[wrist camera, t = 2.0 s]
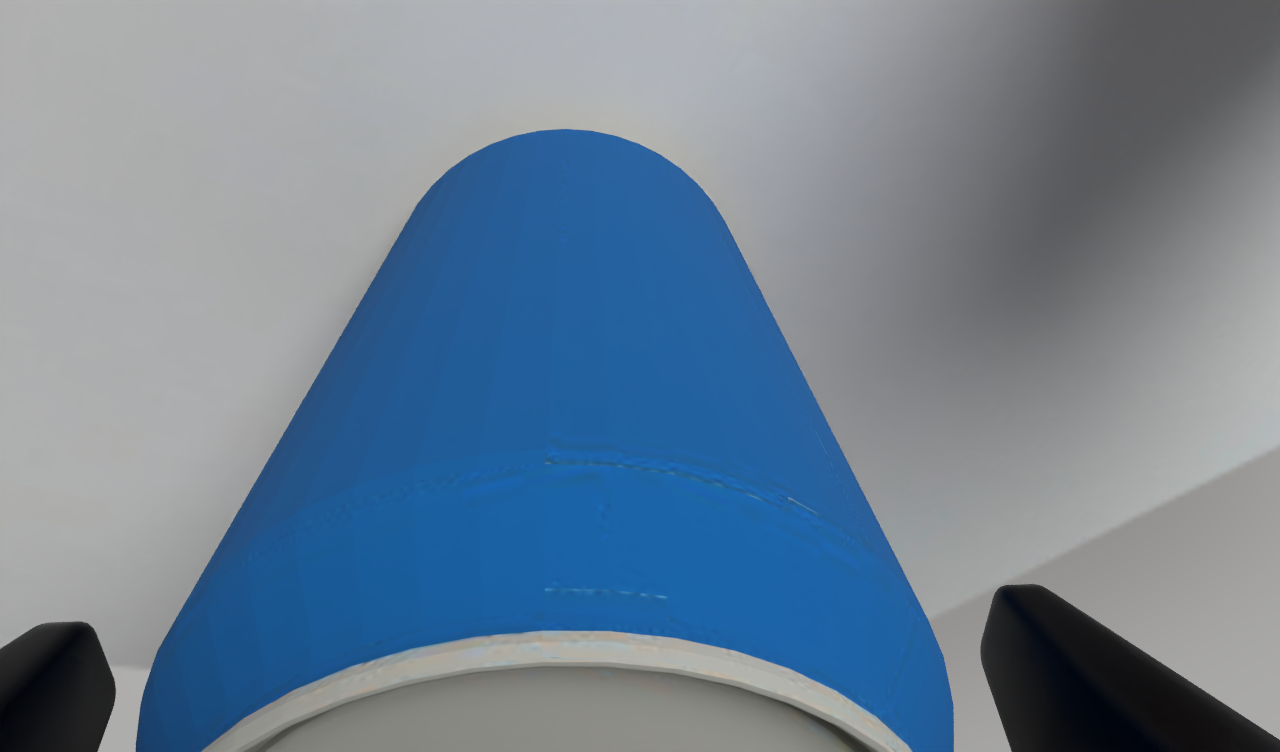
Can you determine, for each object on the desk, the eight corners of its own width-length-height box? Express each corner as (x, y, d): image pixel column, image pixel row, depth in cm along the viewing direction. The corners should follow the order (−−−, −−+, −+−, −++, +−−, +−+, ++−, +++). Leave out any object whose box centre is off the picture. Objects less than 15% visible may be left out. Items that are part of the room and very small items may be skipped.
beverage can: (343, 173, 15) (-218, 760, 4) (695, 76, 15) (1012, 459, 4) (468, 464, 18) (312, 1226, 7) (762, 389, 18) (1041, 1081, 7)
